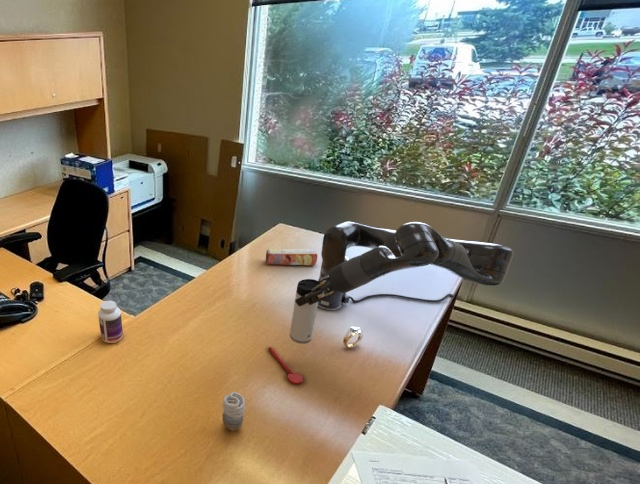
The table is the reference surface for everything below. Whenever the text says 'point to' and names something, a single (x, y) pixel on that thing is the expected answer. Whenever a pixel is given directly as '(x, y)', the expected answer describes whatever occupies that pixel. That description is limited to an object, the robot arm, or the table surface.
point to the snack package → (291, 257)
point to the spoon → (288, 370)
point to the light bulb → (233, 410)
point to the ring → (355, 331)
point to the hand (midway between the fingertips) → (301, 297)
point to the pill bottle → (110, 322)
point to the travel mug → (303, 314)
